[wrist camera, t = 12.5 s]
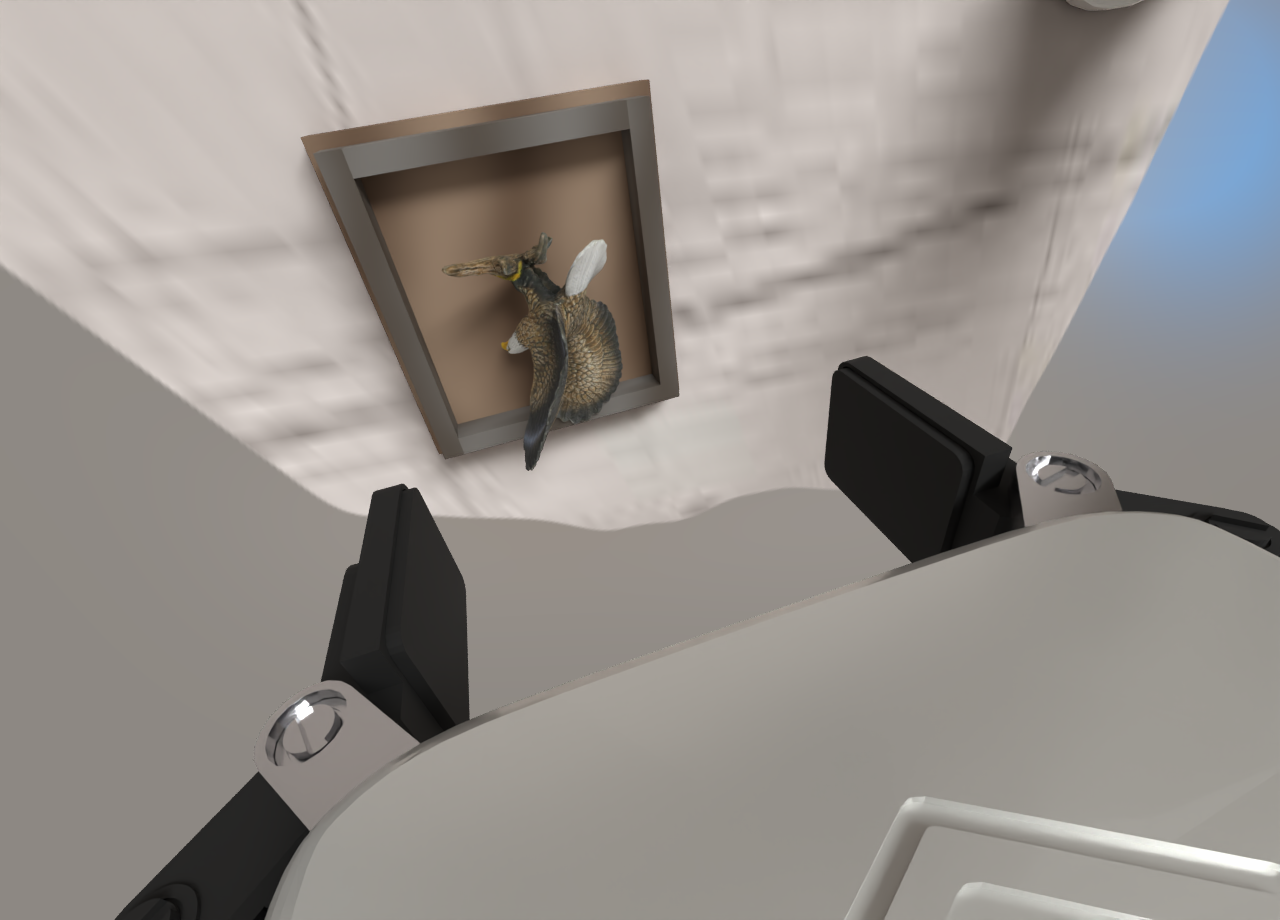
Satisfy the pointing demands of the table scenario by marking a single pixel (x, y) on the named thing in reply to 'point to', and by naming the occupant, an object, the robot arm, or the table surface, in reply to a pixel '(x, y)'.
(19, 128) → the table surface
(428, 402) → the wooden tray
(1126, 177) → the table surface
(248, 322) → the table surface
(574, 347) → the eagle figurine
